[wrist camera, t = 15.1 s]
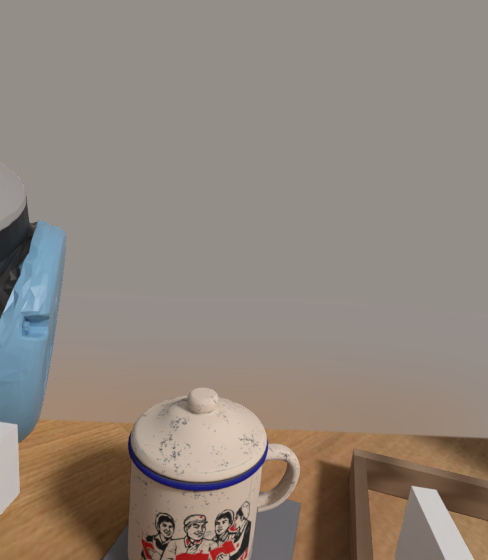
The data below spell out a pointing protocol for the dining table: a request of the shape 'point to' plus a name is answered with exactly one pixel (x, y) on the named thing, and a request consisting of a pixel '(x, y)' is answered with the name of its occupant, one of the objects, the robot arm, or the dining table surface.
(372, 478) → the walnut box
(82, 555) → the dining table surface
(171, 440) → the teacup with lid
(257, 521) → the charcoal mat
